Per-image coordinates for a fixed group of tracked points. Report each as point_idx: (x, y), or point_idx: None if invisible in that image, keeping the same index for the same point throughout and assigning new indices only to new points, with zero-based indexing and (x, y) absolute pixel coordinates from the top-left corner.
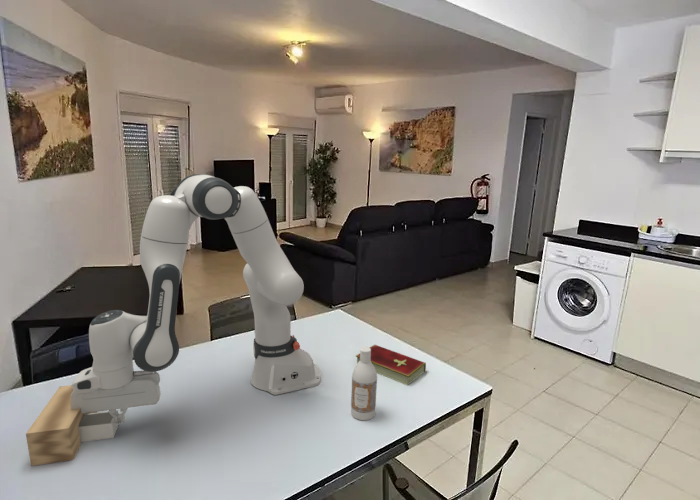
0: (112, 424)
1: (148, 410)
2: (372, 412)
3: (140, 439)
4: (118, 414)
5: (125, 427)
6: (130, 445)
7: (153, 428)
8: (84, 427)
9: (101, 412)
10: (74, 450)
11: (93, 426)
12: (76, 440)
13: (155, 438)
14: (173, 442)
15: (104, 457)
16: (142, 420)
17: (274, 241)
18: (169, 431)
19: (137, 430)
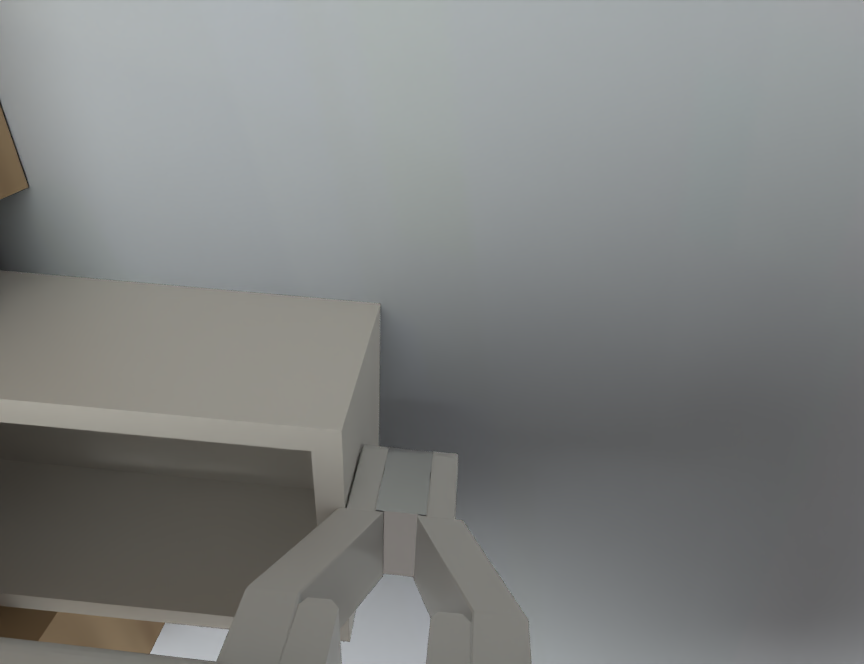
0: (353, 616)
1: (760, 111)
2: None
3: (603, 568)
4: (380, 533)
5: (461, 395)
6: (528, 598)
7: (734, 484)
8: (66, 612)
9: (96, 420)
10: (141, 627)
11: (158, 621)
12: (98, 641)
13: (721, 589)
14: (837, 651)
15: (370, 636)
16: (644, 331)
17: None
18: (860, 555)
19: (582, 468)
